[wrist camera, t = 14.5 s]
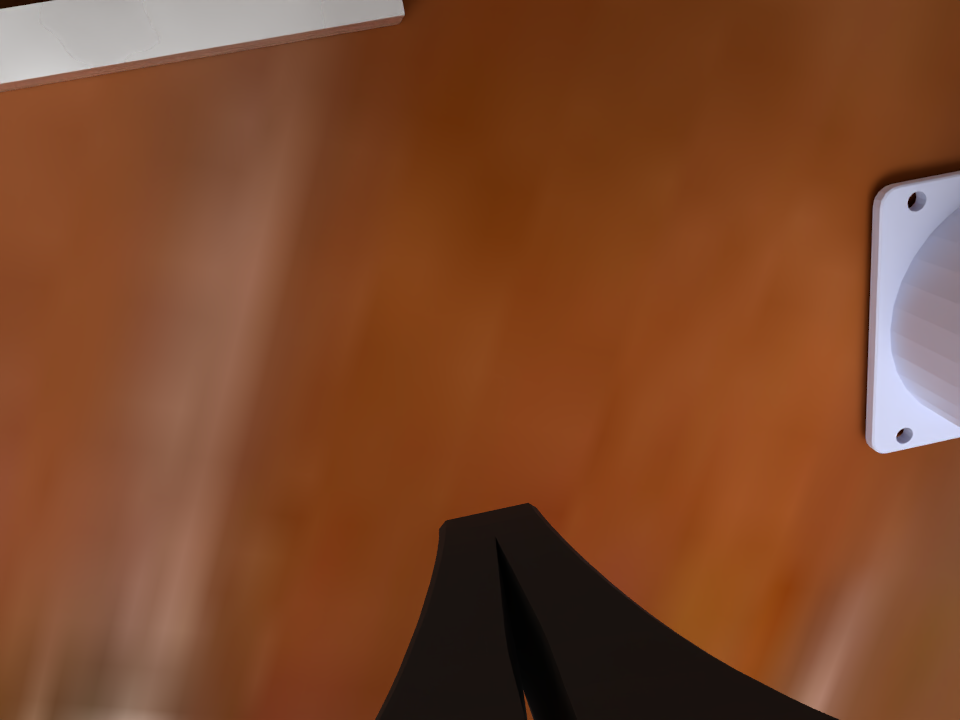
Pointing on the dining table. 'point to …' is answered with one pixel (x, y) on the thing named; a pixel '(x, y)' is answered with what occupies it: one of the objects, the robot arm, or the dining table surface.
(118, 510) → the dining table surface
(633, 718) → the robot arm
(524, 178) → the dining table surface
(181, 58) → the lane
